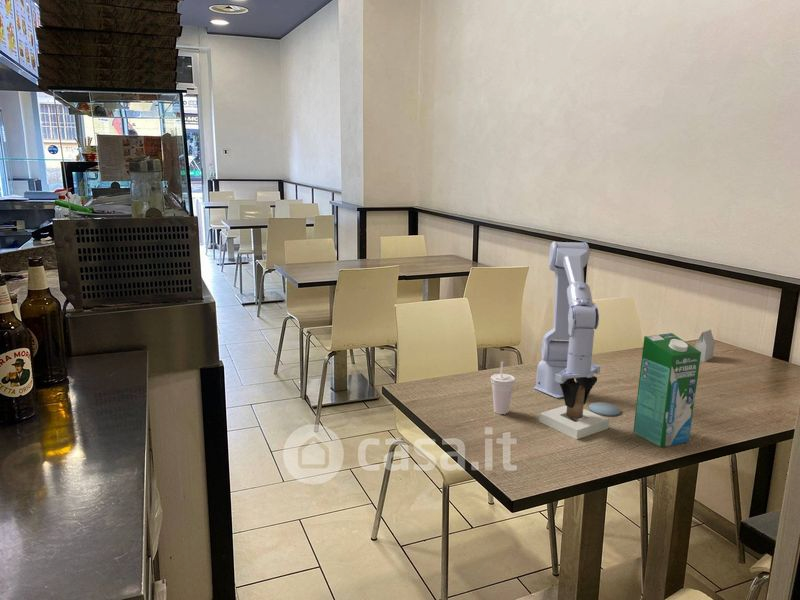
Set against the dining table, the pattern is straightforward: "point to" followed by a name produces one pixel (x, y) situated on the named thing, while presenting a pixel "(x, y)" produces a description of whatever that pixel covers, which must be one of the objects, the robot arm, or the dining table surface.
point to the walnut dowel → (577, 405)
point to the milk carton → (666, 390)
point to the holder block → (574, 429)
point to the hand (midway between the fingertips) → (575, 404)
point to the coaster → (604, 409)
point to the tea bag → (705, 345)
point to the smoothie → (502, 391)
